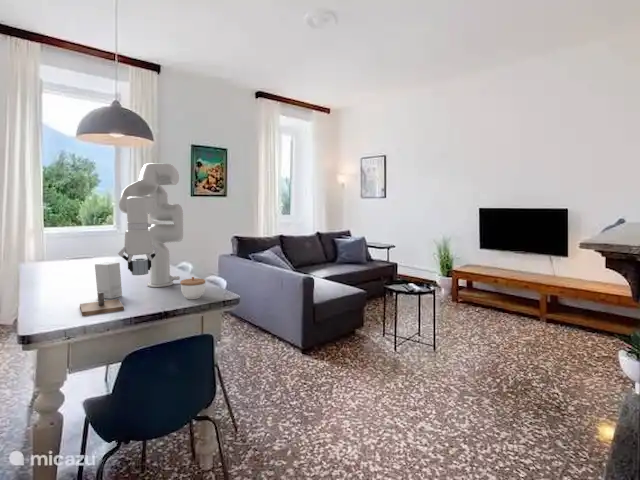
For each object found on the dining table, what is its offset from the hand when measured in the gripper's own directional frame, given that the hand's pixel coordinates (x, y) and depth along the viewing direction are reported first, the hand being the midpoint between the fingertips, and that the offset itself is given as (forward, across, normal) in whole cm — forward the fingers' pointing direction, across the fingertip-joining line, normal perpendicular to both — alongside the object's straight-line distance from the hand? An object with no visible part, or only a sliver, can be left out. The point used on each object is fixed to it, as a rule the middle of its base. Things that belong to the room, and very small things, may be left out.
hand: (139, 269), depth 156 cm
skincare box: (+15, +9, -22) cm, 29 cm away
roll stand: (+15, +14, -2) cm, 21 cm away
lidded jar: (+15, -22, 0) cm, 27 cm away
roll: (+2, 0, 0) cm, 2 cm away
